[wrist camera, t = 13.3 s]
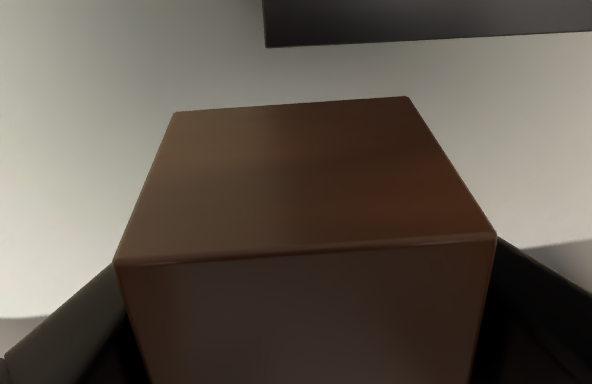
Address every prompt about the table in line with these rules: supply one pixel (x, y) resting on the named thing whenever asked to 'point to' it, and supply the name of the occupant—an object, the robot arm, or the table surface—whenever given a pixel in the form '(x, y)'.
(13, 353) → the robot arm
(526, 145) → the table surface
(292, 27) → the laptop screen
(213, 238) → the block
